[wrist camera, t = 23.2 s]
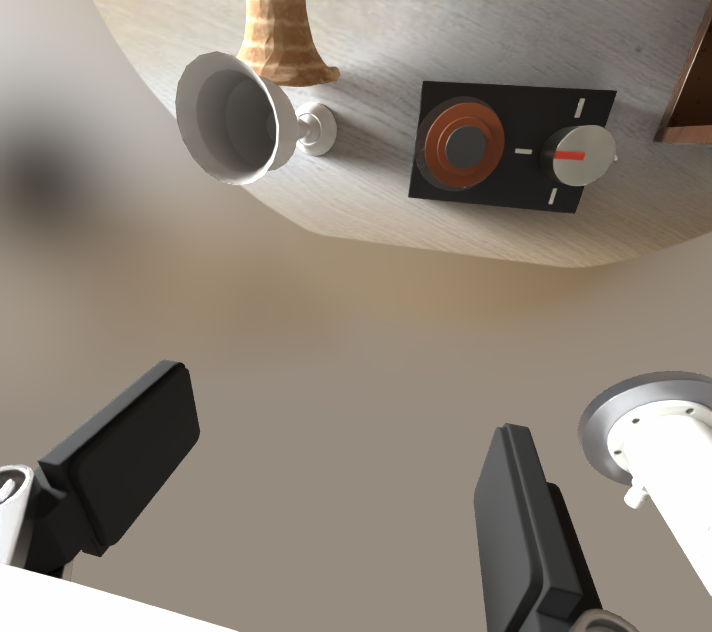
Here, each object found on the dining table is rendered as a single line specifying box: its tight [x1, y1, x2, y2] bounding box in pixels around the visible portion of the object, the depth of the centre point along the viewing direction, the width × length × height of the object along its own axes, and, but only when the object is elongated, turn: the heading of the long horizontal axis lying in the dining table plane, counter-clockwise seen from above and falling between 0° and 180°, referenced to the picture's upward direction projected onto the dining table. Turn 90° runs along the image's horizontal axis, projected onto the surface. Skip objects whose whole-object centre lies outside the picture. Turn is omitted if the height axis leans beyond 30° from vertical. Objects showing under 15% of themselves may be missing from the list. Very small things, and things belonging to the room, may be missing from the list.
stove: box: [408, 81, 618, 214], centre depth 34 cm, size 10×18×3 cm, turn 86°
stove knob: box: [539, 125, 616, 186], centre depth 30 cm, size 4×4×5 cm
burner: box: [414, 96, 501, 191], centre depth 33 cm, size 8×8×1 cm
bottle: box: [425, 103, 505, 187], centre depth 28 cm, size 6×6×10 cm
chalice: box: [175, 52, 337, 185], centre depth 30 cm, size 7×7×18 cm
